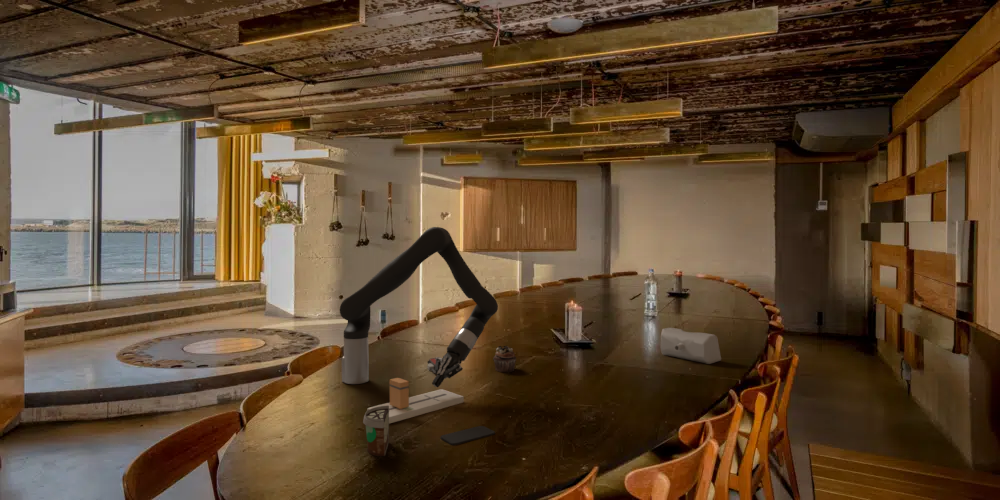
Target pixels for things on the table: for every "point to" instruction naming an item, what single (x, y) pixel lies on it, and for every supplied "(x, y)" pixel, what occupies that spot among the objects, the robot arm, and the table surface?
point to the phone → (467, 435)
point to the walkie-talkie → (432, 364)
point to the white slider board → (423, 404)
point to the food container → (377, 430)
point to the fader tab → (399, 393)
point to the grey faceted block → (690, 345)
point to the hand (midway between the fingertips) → (434, 385)
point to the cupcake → (504, 359)
